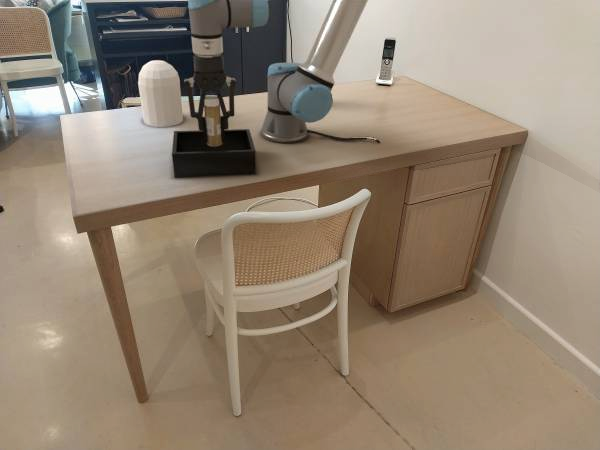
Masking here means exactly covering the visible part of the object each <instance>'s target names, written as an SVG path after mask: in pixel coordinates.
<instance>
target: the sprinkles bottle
mask: <svg viewBox="0 0 600 450" xmlns="http://www.w3.org/2000/svg"><path fill="white" fill-rule="evenodd" d="M203 112H204V117H205V124H206V134H207V145H209V146H212V147H217V146H220V145H222V144H223V142H222V128H221V116H222V115H221V107H220V104H219V99H218V97H217V94H216V95H214V94H209V95H206V96H205V100H204V110H203Z"/></svg>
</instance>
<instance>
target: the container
mask: <svg viewBox="0 0 600 450" xmlns="http://www.w3.org/2000/svg"><path fill="white" fill-rule="evenodd" d="M180 81H181V80H180V76H179V72H178V71H177V70H176V69H175V68H174V66H173V65H171V64H170V63H168V62H167V61H165V60H160V59H157V60H150V61H149V62H147V63H145V64H144V65H143V66H142V67H141V69H140V71H139V73H138V81H137V85H138V93H139V99H140V105H141V113H142V114H141V115H142V121H143V122H144V124H145V125H147V126H150V127H155V128H168V127H173V126H177V125H179V124H181V123H182V122H183V121H184V114H183V113H184V112H183V104H182V91H181V82H180Z"/></svg>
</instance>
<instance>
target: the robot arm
mask: <svg viewBox="0 0 600 450" xmlns="http://www.w3.org/2000/svg"><path fill="white" fill-rule="evenodd" d="M268 1H269V0H187V9H188V14H189V23H190V34H191V36H190V37H191V46H192V53H193V56H192V58H193V71H194V73H193V76H192V77H190V78H184V79H183V85H184V87H185V88H186V91H187V97H188V106H189V115H190V118H192V119H196V120H197V125H198V130H200V131H201V130H203V134H204V143H207V136H206V124H205V116H204V100H205V96H207V93H209V92H213V93H215V94H216V96H217V97H218V99H219V104H220V111H221V113H222V115H220V116H221V128H222V142H225V130H229V119H230V117H231V118H232V117H234V116H235V87H236V84H237V81H236V78H235V77H230V76H227V74H226V73H225V61H224V55H223V52H224V45H223V44H224V43H223V29H231V28H233V29H234V28H236V29H237V28H253V29H254V28H257V27H264V26H265V25H266V24H267V23H268V20H269V15H270V9H269V2H268ZM368 1H369V0H332V2H331V5H330V6H329V9H328V11H327V13H326V16H325V18H324V19H323V22H322V25H321V27H320V29H319V31H318V34H317V36H316V38H315V39H314V40H315V41H314V43H313V45H312V46H311V49H310V51H309V54H308V56H307V59H306V60H305V61H304V62H302V63H299V62H276V63H271V64H270V65H269V67H268V69H267V76H266V77H267V111H266V114H265V117H264V120H263V123H262V126H261V135H262V137H263V138H264V139H266V140H268V141H271V142H274V143H275V142H276V143H281V144H290V143H298V142H301V141H303V140H305V139H307V136H308V134H313V135H318V136H320V137H324V138H329V139H332V140H336V141H345V142H348V141H358V140H360V141H362V140H363V141H364V140H368V139H367V138H352V137H339V136H334V135H331V134H326V133H322V132H319V131H315V130H312V129H308V126H307V123H309V124H310V123H311V124H313V123H317V122H319V121H322V120H323V119H324V118H325V117H326V116H328V114H329V113H330V111H331V109H332V107H333V104H334V99H333V94H332V90H333V88H334V86H335V80H334V79H335V78H334V74H335V71H336V69H337V67H338V66H339V62H340V60H341V59H342V56H343V54H344V53H345V50H346V48H347V46H348V44H349V41H350V40H351V37H352V35H353V34H354V31H355V29H356V26H357V25H358V22H359V20H360V18H361V16H362V14H363V12H364V10H365V8H366V5H367V3H368ZM225 82H226V85H227V87H228V108H229V109H228V110H227V107H226V104H225V100H224V97H223V94H222V89H221V88H222V87H223V85H224V84H225ZM194 83H195V84H196V85H197V86H198V87H199V88H200V95H199V102H198V110H197V111H196V107H195V100H194V90H193V88H194V85H195V84H194ZM372 137H373V138H374V136H372ZM371 140H372V141H375V142H376V143H377V144H381V141H380V140H379V139H378V140H374V139H371Z"/></svg>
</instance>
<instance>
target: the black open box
mask: <svg viewBox="0 0 600 450" xmlns="http://www.w3.org/2000/svg"><path fill="white" fill-rule="evenodd" d="M206 136H207V134H206ZM171 158H172V166H173V167H172V168H173V174H174V175H173V176H174V178H175V179H176V178H195V177H197V178H199V177H219V176H240V175H256V170H257V169H256V163H257V161H256V148H255V145H254V140H253V137H252V133H251V130H250V128H241V129H239V128H237V129H234V128H233V129H225V142H223V144H222V145H220V146H217V147H212V146H209V145H207V143H204V134H203V130H201V131H200V130H199V129H198V130H173V137H172V150H171Z"/></svg>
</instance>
